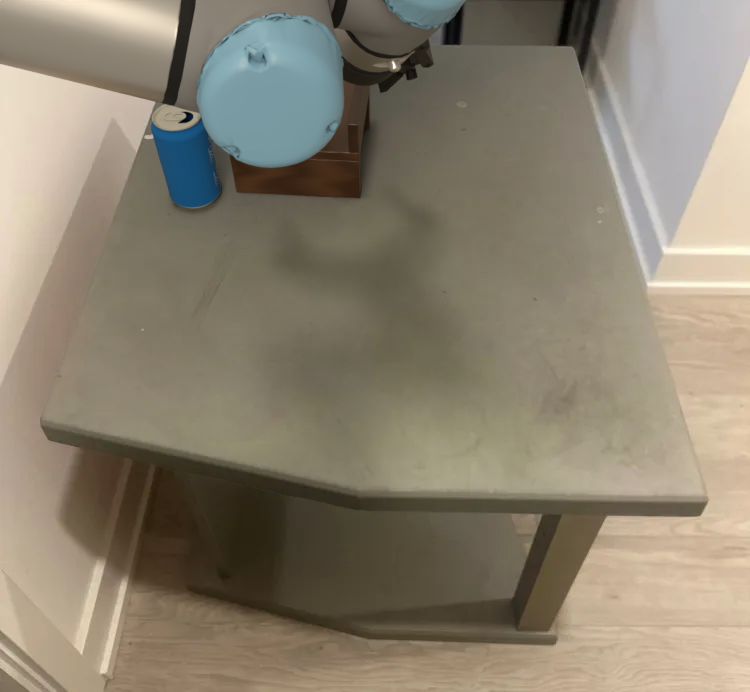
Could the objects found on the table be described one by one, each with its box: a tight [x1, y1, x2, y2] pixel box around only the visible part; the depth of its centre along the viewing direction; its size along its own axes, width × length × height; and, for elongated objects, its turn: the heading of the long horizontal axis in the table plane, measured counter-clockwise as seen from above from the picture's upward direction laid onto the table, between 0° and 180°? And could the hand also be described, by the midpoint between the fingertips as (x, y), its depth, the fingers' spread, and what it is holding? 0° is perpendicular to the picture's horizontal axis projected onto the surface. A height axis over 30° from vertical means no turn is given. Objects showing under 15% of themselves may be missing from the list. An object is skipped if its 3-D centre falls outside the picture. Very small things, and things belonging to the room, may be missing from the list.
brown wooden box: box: [228, 80, 371, 199], centre depth 96 cm, size 16×16×11 cm
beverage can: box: [150, 104, 222, 209], centre depth 90 cm, size 6×6×12 cm
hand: (322, 93), depth 81 cm, fingers open, 13 cm apart
